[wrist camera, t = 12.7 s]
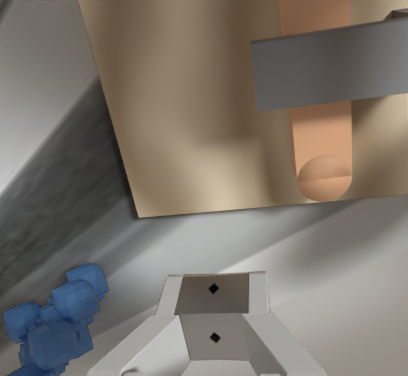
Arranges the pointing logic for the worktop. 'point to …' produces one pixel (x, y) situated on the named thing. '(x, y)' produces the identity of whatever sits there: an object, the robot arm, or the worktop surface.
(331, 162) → the link
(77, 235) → the worktop surface
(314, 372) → the robot arm
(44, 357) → the grapes
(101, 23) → the board
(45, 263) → the worktop surface
